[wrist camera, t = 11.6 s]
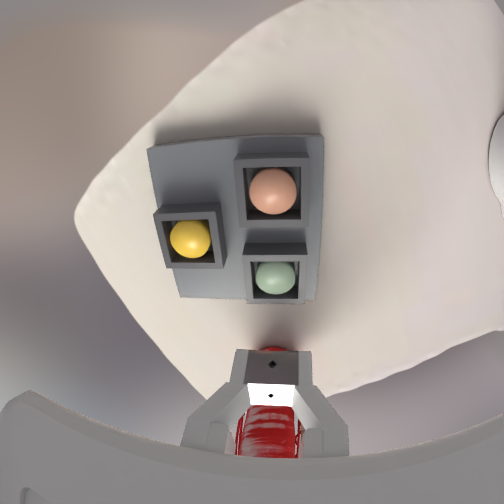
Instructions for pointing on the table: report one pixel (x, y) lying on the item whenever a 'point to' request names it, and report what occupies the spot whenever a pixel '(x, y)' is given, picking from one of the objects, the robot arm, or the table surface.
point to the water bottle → (268, 430)
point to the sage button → (275, 276)
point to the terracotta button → (273, 190)
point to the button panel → (240, 213)
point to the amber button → (191, 237)
